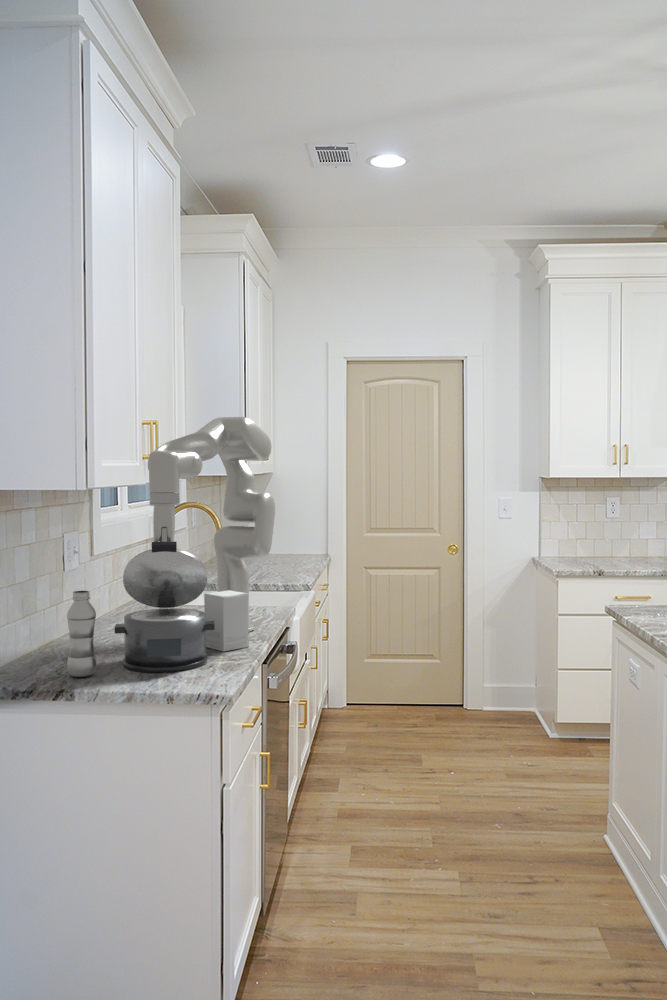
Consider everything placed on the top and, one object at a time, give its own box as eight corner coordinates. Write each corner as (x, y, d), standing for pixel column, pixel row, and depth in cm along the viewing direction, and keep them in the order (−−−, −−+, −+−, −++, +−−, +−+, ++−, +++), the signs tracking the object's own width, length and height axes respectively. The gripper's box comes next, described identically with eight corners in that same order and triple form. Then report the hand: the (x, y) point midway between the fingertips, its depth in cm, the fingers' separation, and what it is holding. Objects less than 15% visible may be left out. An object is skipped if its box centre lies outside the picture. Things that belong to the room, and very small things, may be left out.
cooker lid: (125, 609, 207) (126, 599, 210) (206, 606, 211) (206, 596, 213) (119, 546, 192) (120, 536, 194) (207, 544, 196) (207, 535, 198)
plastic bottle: (74, 672, 190) (72, 589, 189) (101, 673, 189) (100, 589, 188) (62, 679, 183) (60, 593, 183) (90, 680, 183) (89, 594, 182)
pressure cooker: (119, 654, 208) (119, 608, 208) (213, 650, 213) (213, 605, 212) (111, 675, 187) (110, 624, 186) (215, 670, 191) (215, 620, 191)
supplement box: (250, 647, 217) (249, 592, 216) (223, 652, 211) (223, 596, 210) (230, 642, 223) (229, 589, 223) (203, 647, 217) (203, 592, 216)
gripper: (151, 498, 208) (152, 567, 209) (147, 501, 194) (149, 575, 195) (180, 497, 210) (181, 566, 211) (178, 500, 195) (180, 574, 196)
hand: (165, 570), depth 203 cm, fingers closed
